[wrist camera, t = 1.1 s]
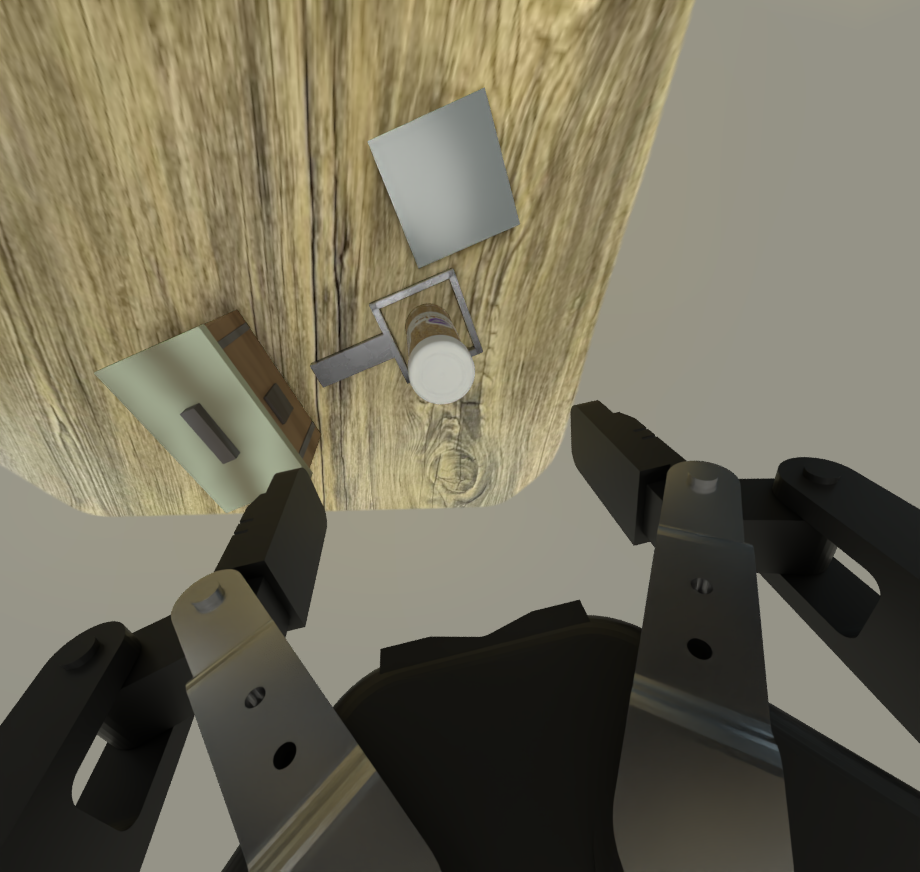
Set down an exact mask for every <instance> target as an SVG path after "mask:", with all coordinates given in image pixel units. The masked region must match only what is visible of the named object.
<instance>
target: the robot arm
mask: <svg viewBox="0 0 920 872" xmlns="http://www.w3.org/2000/svg"><path fill="white" fill-rule="evenodd" d="M571 444H572V445H571V446H572V455H573V459H574V462H575V465H576V467H577V469H578V470H579V472H580V473H581V474H582V476H583V477H584V478H585V480H586V481H587V483H588V484H589V485H590V486H591V488H592V489H593V491H594V492H595V493H596V495H597V496H598V498H599V499H600V500H601V502H602V503H603V504H604V506H605V507H606V508H607V510H608V511H609V513H610V514H611V515H612V517H613V518H614V519H615V521H616V522H617V523H618V525H619V526H620V527H621V529H622V530H623V532H624V533H625V534H626V536H627V537H628V538H629V540H630V541H631V542H632V544H633V545H638V544H642V543H647V542H651V543H652V545H653V546H654V547H655V550H654V555H653V562H652V568H651V574H650V580H649V587H648V593H647V600H646V606H645V612H644V619H643V625H642V628H640V627H638V626H636V625H633V624H631V623H627V622H625V621H622V620H618V619H614V618H610V617H603V616H594V615H593V616H592V615H587V614H586V612H585V610H584V608H583V606H582V604H581V601H580V600H576V601H573V602H569V603H564V604H561V605H557V606H552V607H548V608H544V609H540V610H536V611H532V612H530V613H528V614H526V615H524V616H522V617H520V618H519V619H517V620H515V621H513V622H511V623H509V624H507V625H506V626H504V627H502V628H500V629H498V630H496V631H494V632H493V633H491V634H489V635H486V636H483V637H427V638H423V639H419V640H415V641H411V642H407V643H403V644H399V645H395V646H391V647H386V648H383V649H381V653H380V668H378V669H376V670H374V671H372V672H371V673H369V674H368V675H366V676H365V677H363V678H362V679H361V680H360V681H358V682H357V683H356V684H355V685H354V686H352V687H351V688H350V689H349V690H348V691H347V692H346V693H345V694H344V695H343V696H342V697H341V698H340V700H339V701H338V702H337V703H336V704H335V705H334V707H332V706H331V704H330V703H329V701H328V700H327V698H326V697H325V695H324V694H323V693H322V691H321V690H320V688H319V687H318V685H317V684H316V682H315V681H314V680H313V678H312V677H311V675H310V674H309V672H308V671H307V669H306V668H305V666H304V665H303V663H302V662H301V660H300V659H299V658H298V656H297V655H296V653H295V652H294V650H293V649H292V647H291V646H290V644H289V643H288V642H287V641H286V639H285V637H286V633H287V631H290V630H294V629H298V628H302V627H305V625H306V621H307V616H308V611H309V607H310V602H311V598H312V593H313V589H314V584H315V580H316V575H317V570H318V566H319V561H320V556H321V552H322V547H323V542H324V538H325V534H326V529H327V519H326V513H325V510H324V507H323V505H322V503H321V500H320V498H319V496H318V494H317V492H316V489H315V487H314V485H313V483H312V481H311V479H310V476H309V474H308V472H307V471H306V470H305V469H304V468H303V467H301V468H297V469H292V470H288V471H283V472H279V473H276V474H275V475H274V476H273V478H272V480H271V482H270V485H269V487H268V489H267V491H266V493H263V494H260V495H259V496H258V497H257V498H256V499H255V500H254V501H253V502H252V503H251V504H250V505H249V506H248V507H247V508H246V510H245V512H244V514H243V516H242V518H241V520H240V524H238V526H237V528H236V530H235V532H234V534H235V535H233V536H232V538H231V540H230V542H229V544H228V546H227V548H226V550H225V551H224V554H223V555H222V557H221V559H220V561H219V563H218V565H217V567H216V569H215V571H214V573H211V574H209V575H207V576H205V577H203V578H201V579H200V580H198V581H197V582H195V583H194V584H192V585H191V586H190V587H189V588H188V589H187V590H186V591H185V592H183V594H182V595H181V596H180V597H179V599H178V600H177V601H176V603H175V604H174V606H173V609H172V612H171V615H169V616H167V617H166V618H163V619H161V620H159V621H157V622H155V623H153V624H151V625H148V626H146V627H144V628H142V629H140V630H138V631H136V632H134V633H131V632H130V631H129V630H128V629H127V628H126V627H125V626H124V625H123V624H122V623H120V622H115V621H112V622H106V623H102V624H99V625H97V626H94V627H92V628H90V629H88V630H86V631H84V632H83V633H81V634H79V635H78V636H76V637H75V638H73V639H72V640H70V641H69V642H68V643H66V645H64V646H63V647H62V648H60V649H59V650H58V651H57V652H56V653H55V654H54V655H53V656H52V657H51V658H50V659H49V660H48V662H47V663H46V664H45V665H44V667H43V668H42V670H41V671H40V672H39V673H38V675H37V676H36V678H35V679H34V680H33V682H32V683H31V684H30V686H29V687H28V689H27V690H26V691H25V693H24V694H23V696H22V697H21V698H20V700H19V701H18V702H17V704H16V705H15V706H14V708H13V709H12V711H11V712H10V713H9V715H8V716H7V717H6V719H5V720H4V721H3V723H2V724H1V725H0V872H140V869H141V866H142V863H143V860H144V858H145V854H146V852H147V849H148V846H149V843H150V841H151V838H152V835H153V832H154V829H155V826H156V823H157V821H158V818H159V815H160V812H161V809H162V806H163V804H164V801H165V798H166V795H167V792H168V789H169V786H170V784H171V781H172V778H173V775H174V772H175V769H176V767H177V764H178V761H179V758H180V755H181V752H182V749H183V747H184V744H185V741H186V738H187V735H188V732H189V730H190V727H191V724H192V721H193V718H194V715H195V717H196V720H197V723H198V726H199V729H200V732H201V734H202V737H203V740H204V743H205V745H206V749H207V752H208V754H209V757H210V760H211V763H212V766H213V769H214V772H215V774H216V777H217V780H218V783H219V786H220V788H221V792H222V794H223V797H224V800H225V803H226V806H227V809H228V812H229V814H230V817H231V820H232V823H233V826H234V829H235V832H236V834H237V837H238V840H239V843H240V845H239V846H238V848H237V849H236V851H235V852H234V854H233V855H232V857H231V858H230V860H229V861H228V863H227V864H226V866H225V867H224V869H223V870H222V871H221V872H920V791H918V790H916V789H915V788H913V787H911V786H910V785H908V784H906V783H905V782H903V781H901V780H899V779H897V778H896V777H894V776H893V775H891V774H889V773H888V772H886V771H884V770H882V769H880V768H879V767H877V766H876V765H874V764H872V763H870V762H869V761H867V760H865V759H864V758H862V757H860V756H859V755H857V754H855V753H854V752H852V751H850V750H849V749H847V748H845V747H843V746H842V745H840V744H838V743H837V742H835V741H833V740H832V739H830V738H828V737H826V736H825V735H823V734H821V733H820V732H818V731H816V730H815V729H813V728H811V727H810V726H808V725H806V724H805V723H803V722H801V721H799V720H798V719H796V718H794V717H793V716H791V715H789V714H788V713H786V712H784V711H782V710H781V709H779V708H777V707H776V706H774V705H772V704H770V703H769V702H768V692H767V682H766V671H765V660H764V650H763V638H762V629H761V618H760V607H759V597H758V587H757V586H758V585H757V575H756V573H760V574H761V575H762V577H763V578H764V579H765V580H766V581H767V582H768V583H769V584H770V585H771V586H772V587H773V588H774V589H775V590H776V591H777V593H779V595H780V596H781V597H782V598H783V599H784V600H785V601H786V602H787V603H788V604H789V605H790V606H791V607H792V608H793V609H794V610H795V612H796V613H797V614H798V615H799V616H800V617H801V618H802V619H803V620H804V621H805V622H806V623H807V624H808V625H809V626H810V628H811V629H812V630H813V631H814V632H815V633H816V634H817V635H818V636H819V637H820V638H821V639H822V640H823V641H824V642H825V643H826V644H827V646H828V647H829V648H830V649H831V650H832V651H833V652H834V653H835V654H836V655H837V656H838V657H839V658H840V659H841V660H842V661H843V662H844V664H845V665H846V666H847V667H848V668H849V669H850V670H851V671H852V672H853V673H854V674H855V675H856V676H857V677H858V678H859V680H860V681H861V682H862V683H863V684H864V685H865V686H866V687H867V688H868V689H869V690H870V691H871V692H872V693H873V694H874V695H875V696H876V698H877V699H878V700H879V701H880V702H881V703H882V704H883V705H884V706H885V707H886V708H887V709H888V710H889V711H890V712H891V713H892V715H893V716H894V717H895V718H896V719H897V720H898V721H899V722H900V723H901V724H902V725H903V726H904V727H905V728H906V729H907V730H908V731H909V733H910V734H911V735H912V736H913V737H914V738H915V739H916V740H917V741H918V742H919V743H920V509H918V508H916V507H915V506H913V505H911V504H909V503H908V502H906V501H905V500H903V499H901V498H900V497H898V496H896V495H895V494H893V493H891V492H890V491H888V490H886V489H884V488H882V487H881V486H879V485H877V484H876V483H874V482H873V481H871V480H869V479H867V478H866V477H864V476H862V475H861V474H859V473H857V472H856V471H854V470H852V469H850V468H848V467H846V466H844V465H842V464H839V463H836V462H833V461H829V460H825V459H819V458H809V457H798V458H791V459H788V460H785V461H783V462H782V463H781V464H780V465H779V467H778V470H777V473H776V477H775V479H738V477H737V476H736V475H735V474H734V473H732V472H731V471H730V470H728V469H727V468H724V467H722V466H720V465H717V464H714V463H710V462H704V461H686V460H685V459H684V458H683V457H681V456H680V455H679V454H678V453H676V452H675V451H674V450H673V449H671V448H670V447H669V446H668V445H667V444H665V443H664V442H663V441H662V440H661V439H659V438H658V437H655V434H653V433H652V432H651V431H650V430H648V429H646V427H645V426H644V425H643V424H641V423H640V422H639V421H638V420H636V419H635V418H633V417H630V416H628V415H625V414H622V413H620V412H617V413H612V412H611V411H610V410H609V409H608V408H607V407H606V406H605V405H603V404H602V403H601V402H600V401H598V400H596V401H591V402H587V403H582V404H578V405H574V406H572V408H571ZM837 547H838V548H840V549H841V550H842V551H843V552H845V553H846V554H847V555H848V556H850V557H851V558H852V559H854V560H855V561H856V562H858V563H859V564H860V565H861V566H862V567H863V568H865V569H866V570H867V571H868V572H869V573H870V574H871V575H872V576H873V577H874V578H875V580H876V582H877V584H878V586H879V589H880V594H881V595H879V594H878V593H876V592H875V591H874V590H873V589H872V588H870V587H869V586H868V585H867V584H865V583H864V582H863V581H862V580H860V579H859V578H858V577H857V576H856V575H855V574H853V573H852V572H851V571H850V570H849V569H847V568H846V567H845V566H844V565H843V564H841V563H840V562H839V561H838V560H837V559H835V558H834V557H833V556H834V554H835V551H836V549H837ZM96 735H99V736H100V737H101V738H103V739H104V740H105V741H107V744H106V746H105V748H104V750H103V752H102V754H101V756H100V758H99V760H98V762H97V764H96V766H95V768H94V770H93V772H92V774H91V776H90V778H89V780H88V782H87V784H86V786H85V788H84V790H83V792H82V794H81V796H80V798H79V800H78V802H77V804H76V806H75V805H74V803H73V800H72V785H73V781H74V778H75V775H76V773H77V771H78V769H79V767H80V765H81V763H82V762H83V760H84V758H85V756H86V754H87V752H88V750H89V748H90V746H91V745H92V743H93V741H94V739H95V737H96Z"/></svg>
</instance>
